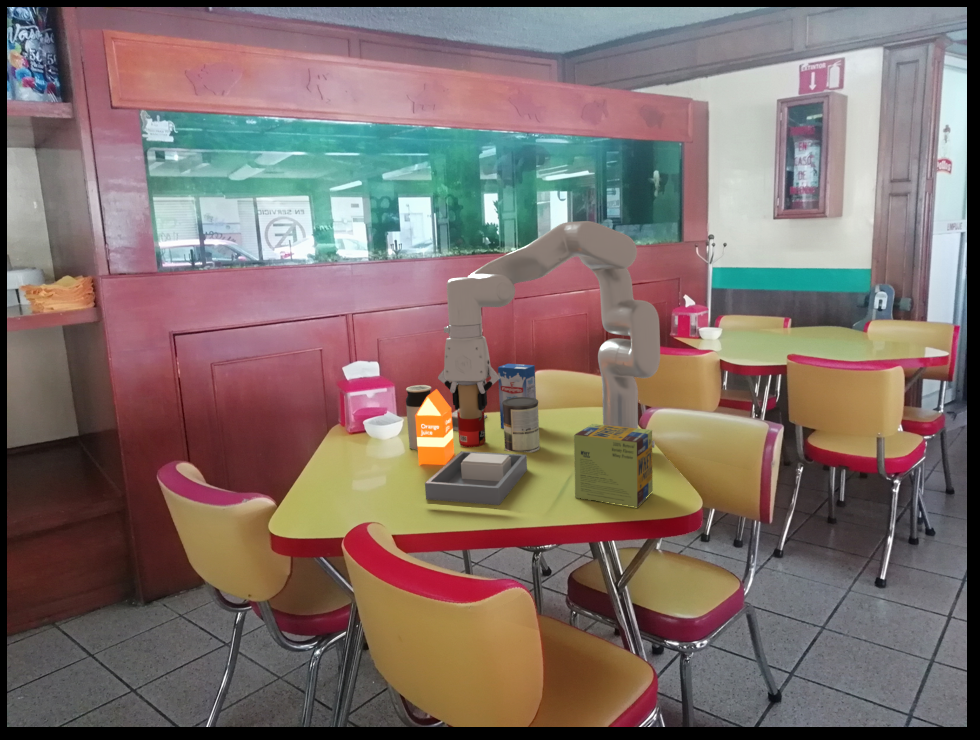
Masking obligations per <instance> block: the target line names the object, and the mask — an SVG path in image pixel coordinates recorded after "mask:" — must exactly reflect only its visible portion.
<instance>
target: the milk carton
mask: <svg viewBox="0 0 980 740" xmlns="http://www.w3.org/2000/svg"><path fill="white" fill-rule="evenodd" d="M535 366H536V365H535V364H533V365H531V364H519V363H506V364H503V365H500V366H498V367H497V374H498V375H499V377H500V379H499V380H498V397H499V417H500V429H502V428H504V420H503V405H502V402H503V401H504V400H506V399H510V398H516V397H530V398H535V399H537V394H536V391H537V389H536V367H535Z"/></svg>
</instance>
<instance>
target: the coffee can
mask: <svg viewBox="0 0 980 740" xmlns="http://www.w3.org/2000/svg"><path fill="white" fill-rule="evenodd" d="M502 405H503V420H504V429H503V435H504V438H503V439H504V451H505V452H515V453H517V452H518V453H535V452H538V451H539V450H540V448H541V446H540V424H539V423H540V422H539V400H538V399H537V398H536V399H535V398H530V397H516V398H510V399H506V400H504V401H503V402H502Z"/></svg>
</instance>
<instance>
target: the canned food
mask: <svg viewBox="0 0 980 740" xmlns="http://www.w3.org/2000/svg"><path fill="white" fill-rule="evenodd" d="M484 415H485V408H484V409H483V410H482V416H481V417H479V418H475V419H463V418H460V413H459V409H458V410H457V417H458V431H457V432H458V442H459V445H460V446H461V447H464V448H477V447H482V446H484V445H485V444H486V442H487V441H486V426H485V425H486V421H485V419H486V418H485V419H484Z"/></svg>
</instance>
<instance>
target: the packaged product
mask: <svg viewBox="0 0 980 740" xmlns="http://www.w3.org/2000/svg"><path fill="white" fill-rule="evenodd" d="M487 417H488V415H487V414H484V418H485V419H487ZM452 428H453V432H458V417H457V410H454V411H453V412H452Z"/></svg>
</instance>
